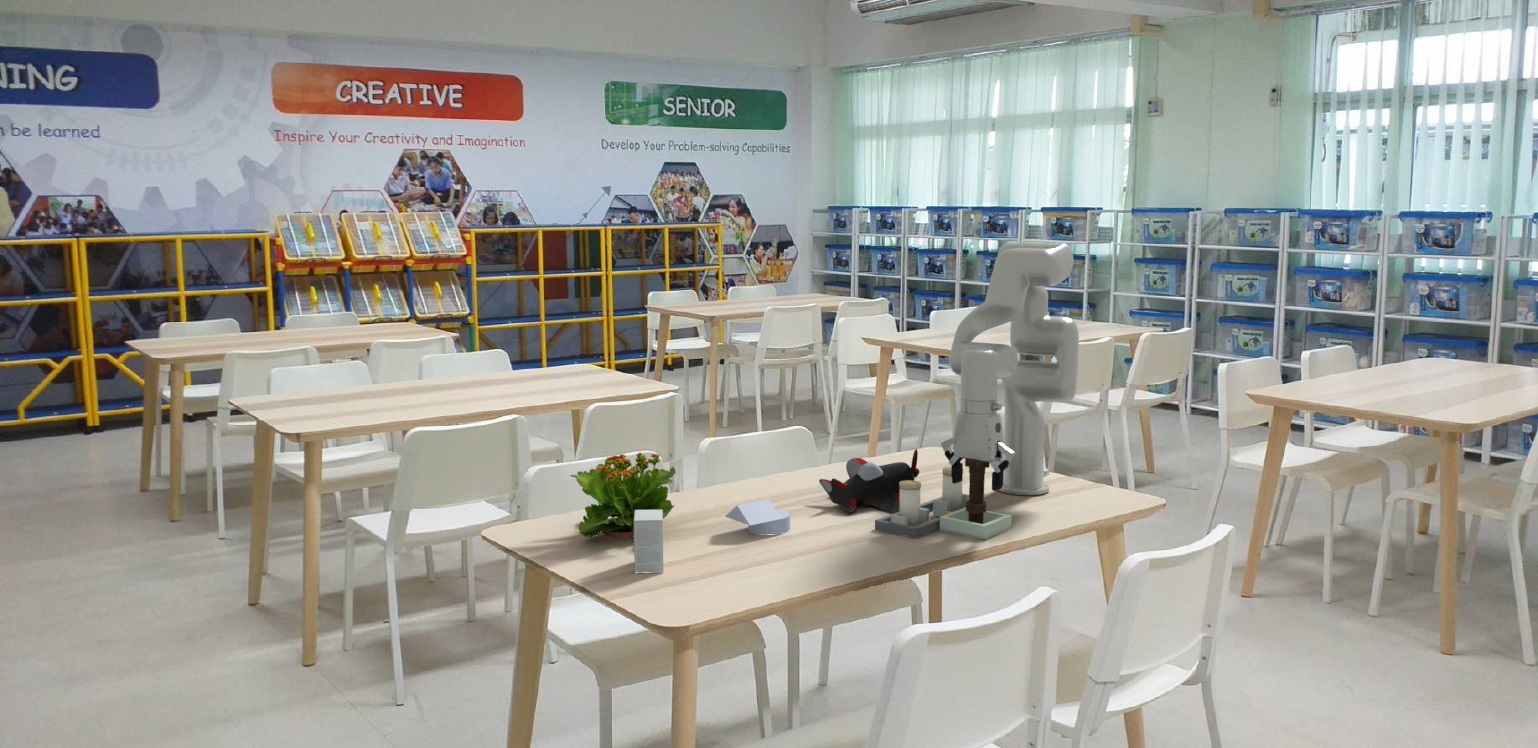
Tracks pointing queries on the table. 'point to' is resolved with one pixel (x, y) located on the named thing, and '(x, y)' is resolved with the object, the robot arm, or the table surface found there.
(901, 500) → the fuse outer
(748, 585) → the table surface
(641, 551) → the small box
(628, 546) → the table surface
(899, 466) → the toy airplane
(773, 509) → the wedge on round base
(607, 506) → the potted flower
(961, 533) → the tray
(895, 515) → the block
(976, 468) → the bolt
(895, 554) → the table surface
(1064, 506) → the table surface
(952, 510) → the ball
